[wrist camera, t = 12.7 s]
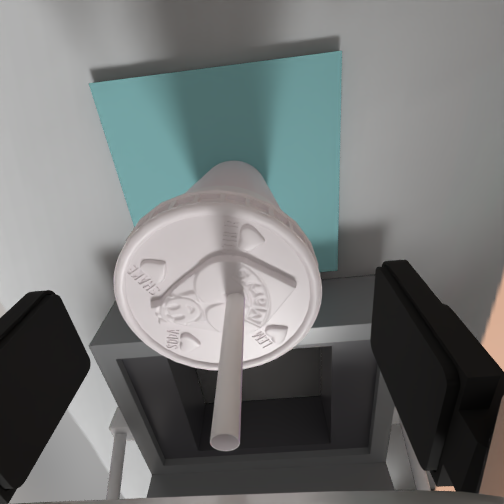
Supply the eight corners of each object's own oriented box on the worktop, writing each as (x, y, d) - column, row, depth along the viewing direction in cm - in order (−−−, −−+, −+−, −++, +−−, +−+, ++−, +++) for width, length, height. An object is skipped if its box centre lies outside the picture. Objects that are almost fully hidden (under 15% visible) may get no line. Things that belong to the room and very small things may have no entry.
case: (401, 272, 22) (844, 884, 5) (382, 416, 29) (542, 851, 13) (97, 299, 23) (-283, 864, 7) (154, 431, 30) (41, 845, 14)
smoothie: (300, 231, 19) (380, 507, 7) (198, 253, 20) (114, 537, 8) (278, 119, 16) (353, 270, 4) (158, 151, 17) (-75, 357, 5)
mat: (338, 51, 15) (341, 50, 15) (335, 265, 21) (337, 270, 21) (94, 82, 16) (88, 83, 16) (155, 281, 22) (153, 287, 21)
